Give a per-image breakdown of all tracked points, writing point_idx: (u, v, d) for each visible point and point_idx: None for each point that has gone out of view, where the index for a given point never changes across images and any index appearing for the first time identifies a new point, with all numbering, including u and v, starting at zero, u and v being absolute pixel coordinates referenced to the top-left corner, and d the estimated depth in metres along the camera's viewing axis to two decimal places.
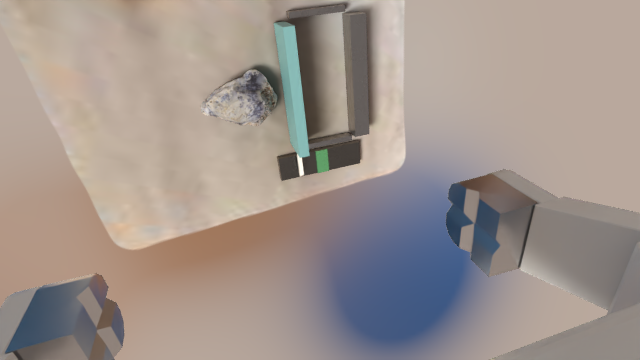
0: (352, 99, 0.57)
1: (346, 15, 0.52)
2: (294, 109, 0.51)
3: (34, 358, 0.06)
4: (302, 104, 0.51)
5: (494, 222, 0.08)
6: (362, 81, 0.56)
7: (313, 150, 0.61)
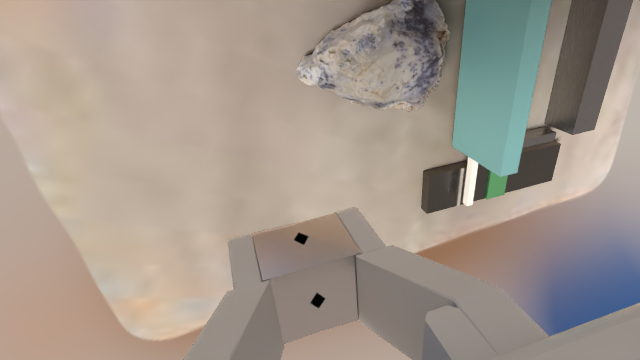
0: (586, 62, 0.30)
1: None
2: (519, 75, 0.24)
3: (279, 287, 0.07)
4: (536, 64, 0.24)
5: None
6: (616, 25, 0.28)
7: None
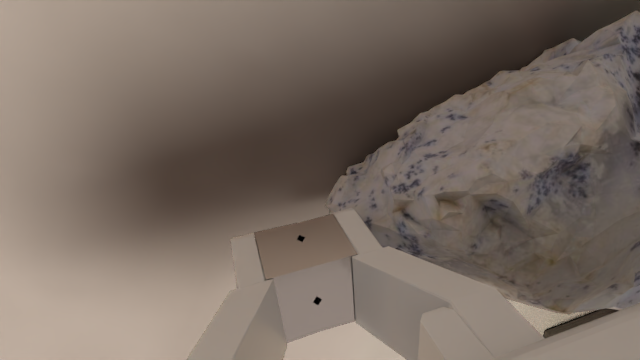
0: None
1: None
2: None
3: (283, 286, 0.07)
4: None
5: None
6: None
7: None
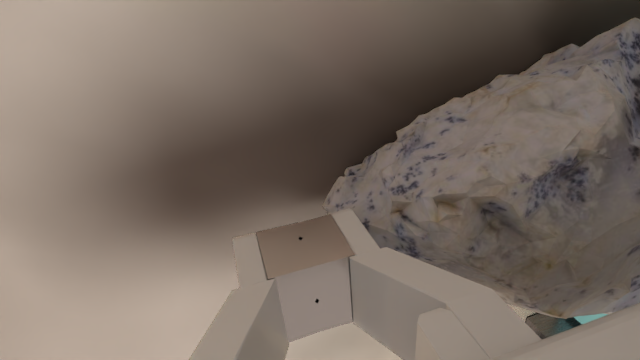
0: None
1: None
2: None
3: (285, 286, 0.07)
4: None
5: None
6: None
7: None
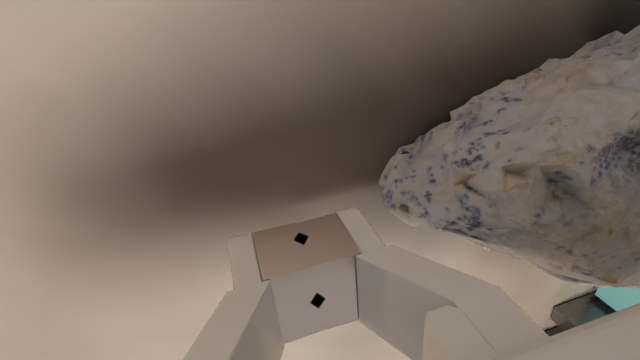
0: None
1: None
2: None
3: (280, 287, 0.07)
4: None
5: None
6: None
7: None
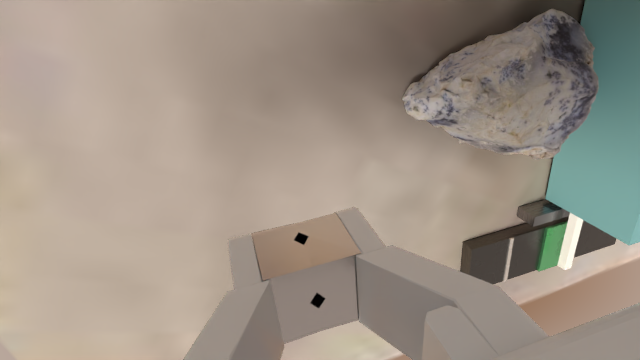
0: None
1: None
2: None
3: (280, 287, 0.07)
4: None
5: None
6: None
7: (538, 225, 0.27)
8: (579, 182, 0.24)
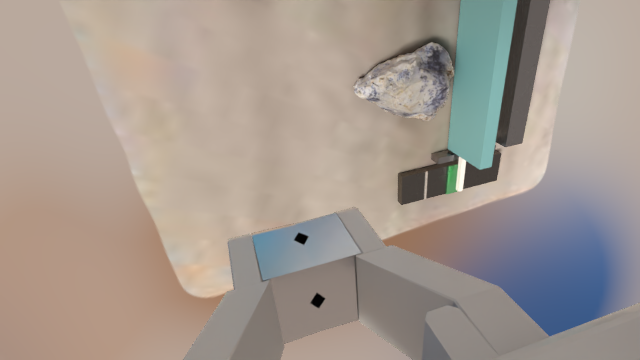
0: (511, 96, 0.42)
1: None
2: (489, 103, 0.37)
3: (280, 287, 0.07)
4: (501, 96, 0.37)
5: None
6: (529, 72, 0.41)
7: (444, 165, 0.46)
8: (460, 137, 0.42)
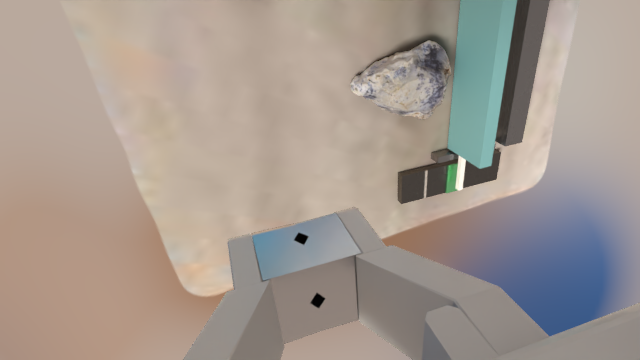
0: (510, 95, 0.42)
1: None
2: (489, 102, 0.37)
3: (280, 287, 0.07)
4: (500, 95, 0.37)
5: None
6: (529, 71, 0.41)
7: (444, 164, 0.46)
8: (460, 136, 0.43)
